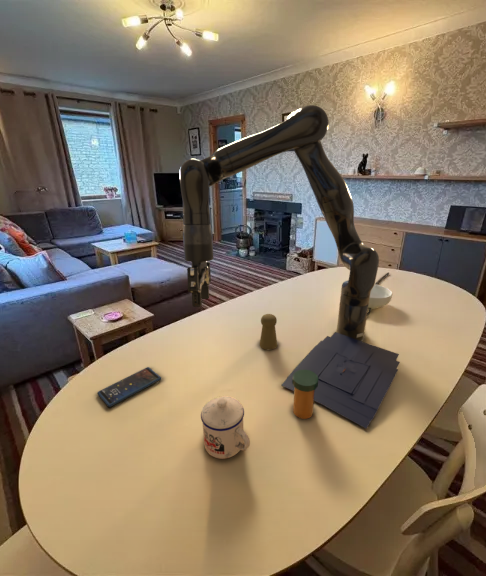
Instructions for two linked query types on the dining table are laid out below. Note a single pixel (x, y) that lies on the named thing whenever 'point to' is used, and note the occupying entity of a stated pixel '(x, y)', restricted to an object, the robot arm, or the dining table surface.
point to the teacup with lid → (224, 427)
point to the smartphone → (128, 386)
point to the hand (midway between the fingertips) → (201, 302)
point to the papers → (349, 376)
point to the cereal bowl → (379, 297)
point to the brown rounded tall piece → (268, 332)
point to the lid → (305, 380)
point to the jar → (303, 403)
